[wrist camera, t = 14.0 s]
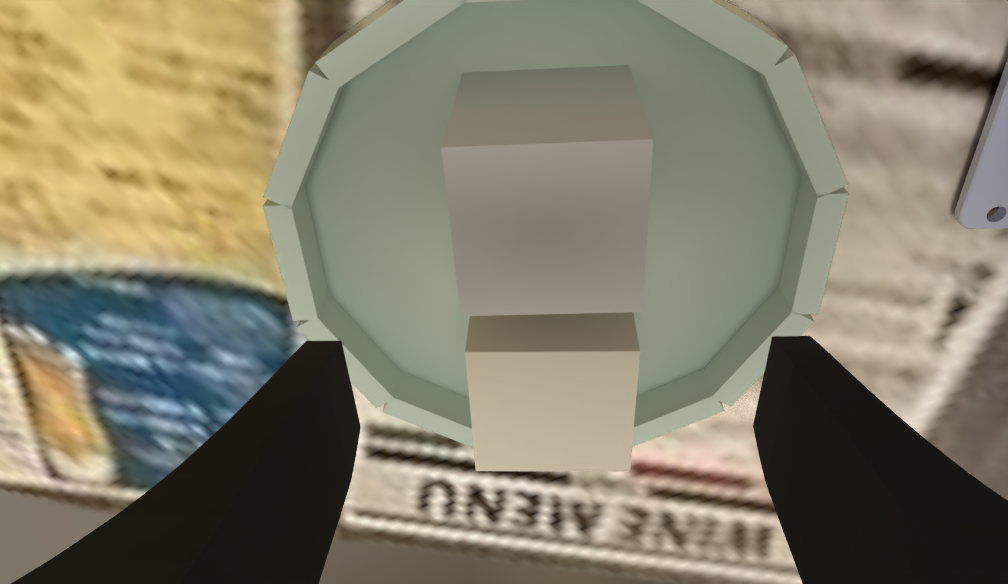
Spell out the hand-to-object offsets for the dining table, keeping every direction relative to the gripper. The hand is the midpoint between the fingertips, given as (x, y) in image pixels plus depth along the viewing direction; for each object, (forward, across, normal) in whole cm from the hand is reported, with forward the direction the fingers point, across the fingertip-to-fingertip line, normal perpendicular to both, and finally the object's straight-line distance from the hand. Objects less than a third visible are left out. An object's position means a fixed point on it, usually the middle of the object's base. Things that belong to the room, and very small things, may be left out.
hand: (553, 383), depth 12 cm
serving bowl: (+10, 0, +3) cm, 11 cm away
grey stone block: (+10, 0, 0) cm, 10 cm away
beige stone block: (+10, 0, +5) cm, 11 cm away
